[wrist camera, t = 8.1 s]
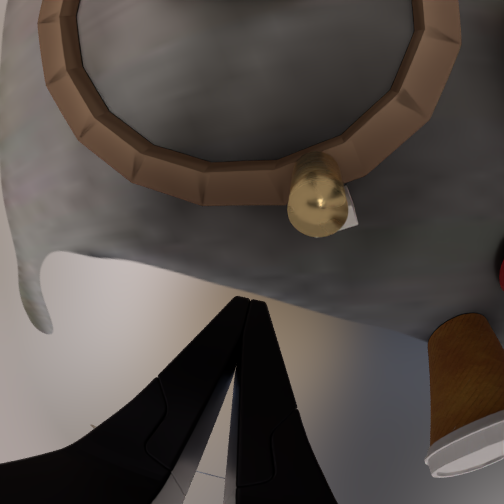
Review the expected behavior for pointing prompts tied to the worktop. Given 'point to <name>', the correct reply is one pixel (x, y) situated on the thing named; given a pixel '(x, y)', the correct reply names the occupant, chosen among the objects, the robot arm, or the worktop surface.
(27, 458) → the robot arm
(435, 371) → the disposable coffee cup
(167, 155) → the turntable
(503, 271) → the liquor
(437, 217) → the worktop surface
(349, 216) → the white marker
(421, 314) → the worktop surface
